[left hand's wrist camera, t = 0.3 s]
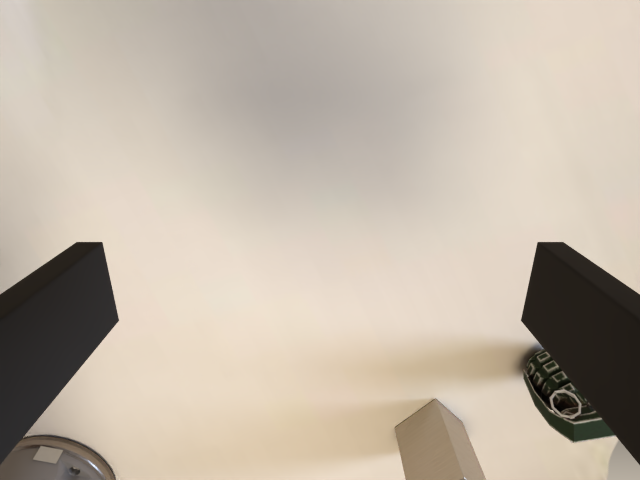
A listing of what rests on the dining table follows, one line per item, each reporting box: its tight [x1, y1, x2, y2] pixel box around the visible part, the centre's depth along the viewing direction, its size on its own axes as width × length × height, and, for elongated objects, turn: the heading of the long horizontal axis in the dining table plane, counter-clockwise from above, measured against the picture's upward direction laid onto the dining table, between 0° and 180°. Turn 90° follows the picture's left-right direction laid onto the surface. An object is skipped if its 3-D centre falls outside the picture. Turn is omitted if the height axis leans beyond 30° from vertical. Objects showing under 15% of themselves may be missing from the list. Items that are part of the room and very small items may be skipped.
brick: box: [395, 399, 486, 480], centre depth 46 cm, size 7×5×11 cm
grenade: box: [523, 349, 616, 443], centre depth 43 cm, size 7×6×10 cm
